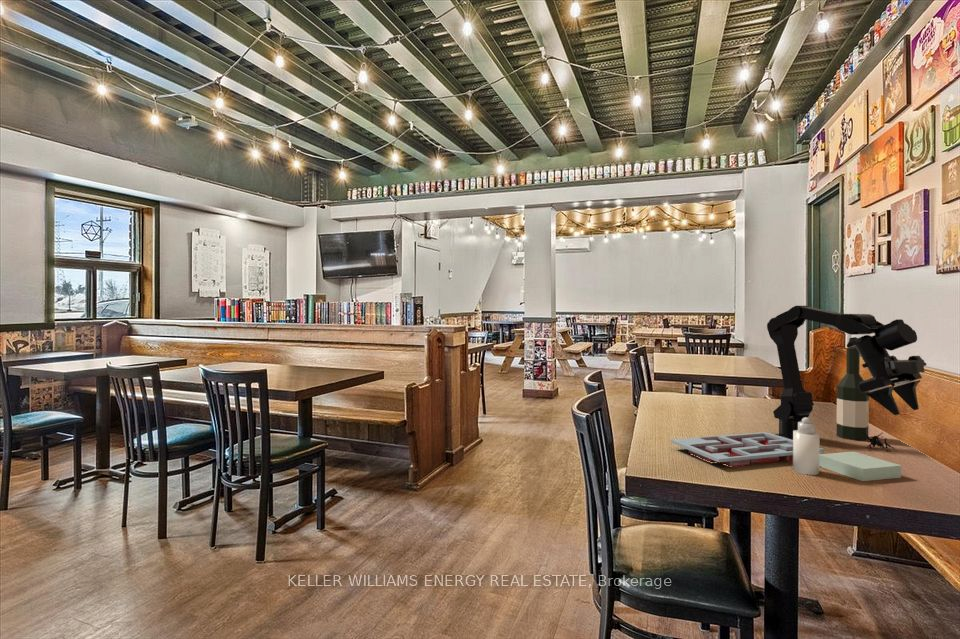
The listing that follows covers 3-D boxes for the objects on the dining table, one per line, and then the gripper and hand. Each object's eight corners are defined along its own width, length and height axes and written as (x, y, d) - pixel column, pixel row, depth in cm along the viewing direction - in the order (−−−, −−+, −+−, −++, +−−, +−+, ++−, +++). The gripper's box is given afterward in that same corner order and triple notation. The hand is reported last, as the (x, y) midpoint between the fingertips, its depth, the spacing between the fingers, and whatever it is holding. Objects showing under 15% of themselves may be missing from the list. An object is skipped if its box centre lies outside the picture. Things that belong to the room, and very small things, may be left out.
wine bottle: (875, 439, 153) (876, 346, 153) (856, 441, 151) (857, 346, 150) (848, 433, 161) (849, 344, 161) (830, 435, 159) (831, 345, 158)
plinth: (817, 465, 128) (817, 454, 127) (853, 462, 130) (853, 451, 130) (862, 481, 116) (862, 469, 116) (901, 477, 118) (901, 465, 118)
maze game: (765, 441, 152) (765, 431, 152) (823, 460, 133) (824, 449, 133) (670, 450, 143) (670, 439, 143) (718, 471, 124) (718, 459, 124)
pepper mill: (787, 468, 125) (788, 415, 125) (805, 467, 126) (805, 414, 126) (806, 475, 120) (807, 420, 119) (824, 474, 121) (825, 419, 121)
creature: (902, 458, 138) (883, 444, 146) (906, 441, 137) (886, 428, 144) (873, 457, 139) (855, 443, 146) (876, 440, 138) (858, 427, 145)
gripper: (887, 348, 120) (922, 409, 114) (926, 342, 127) (961, 398, 122) (844, 364, 129) (874, 420, 123) (882, 357, 137) (913, 410, 131)
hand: (907, 412), depth 125 cm, fingers open, 9 cm apart
